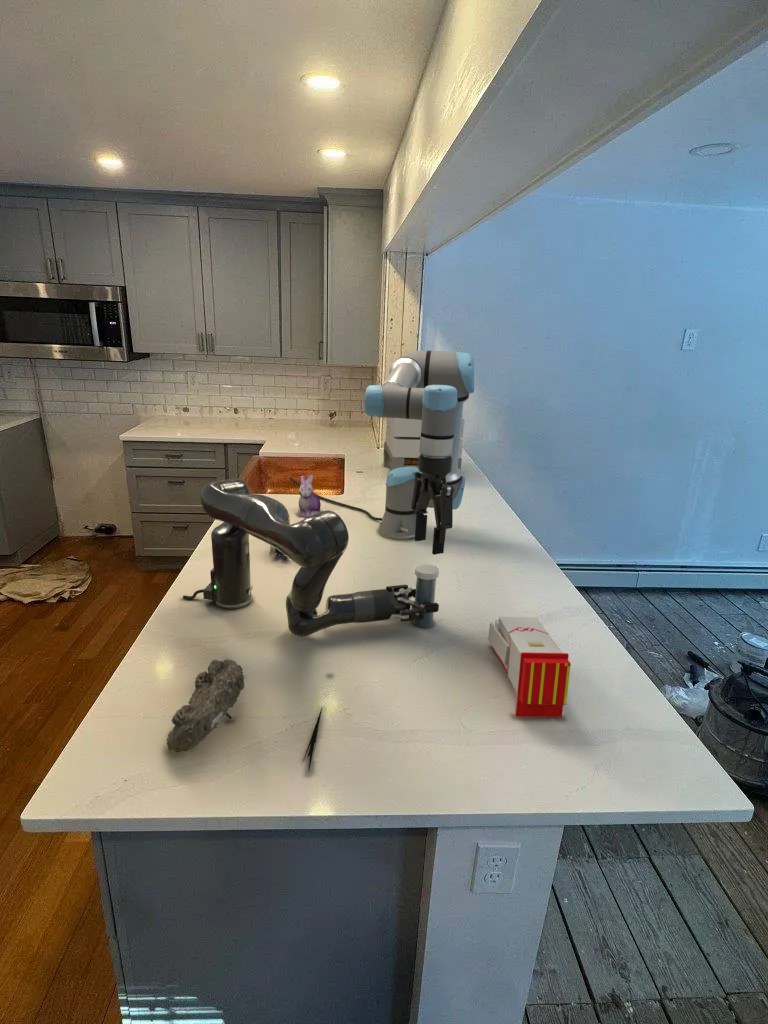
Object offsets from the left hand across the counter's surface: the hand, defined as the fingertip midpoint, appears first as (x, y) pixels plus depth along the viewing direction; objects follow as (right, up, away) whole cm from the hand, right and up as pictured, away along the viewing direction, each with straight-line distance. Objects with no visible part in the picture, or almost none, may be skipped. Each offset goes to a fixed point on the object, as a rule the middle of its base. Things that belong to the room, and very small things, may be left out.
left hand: (432, 599), depth 142 cm
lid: (-2, +8, -3) cm, 9 cm away
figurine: (-41, +21, +73) cm, 86 cm away
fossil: (-45, -17, -34) cm, 59 cm away
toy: (+18, -14, -18) cm, 29 cm away
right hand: (-1, +14, -5) cm, 15 cm away
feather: (-25, -18, -34) cm, 45 cm away
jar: (-2, -6, +2) cm, 7 cm away
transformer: (+5, +41, +133) cm, 139 cm away
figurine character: (-44, +9, +38) cm, 59 cm away
